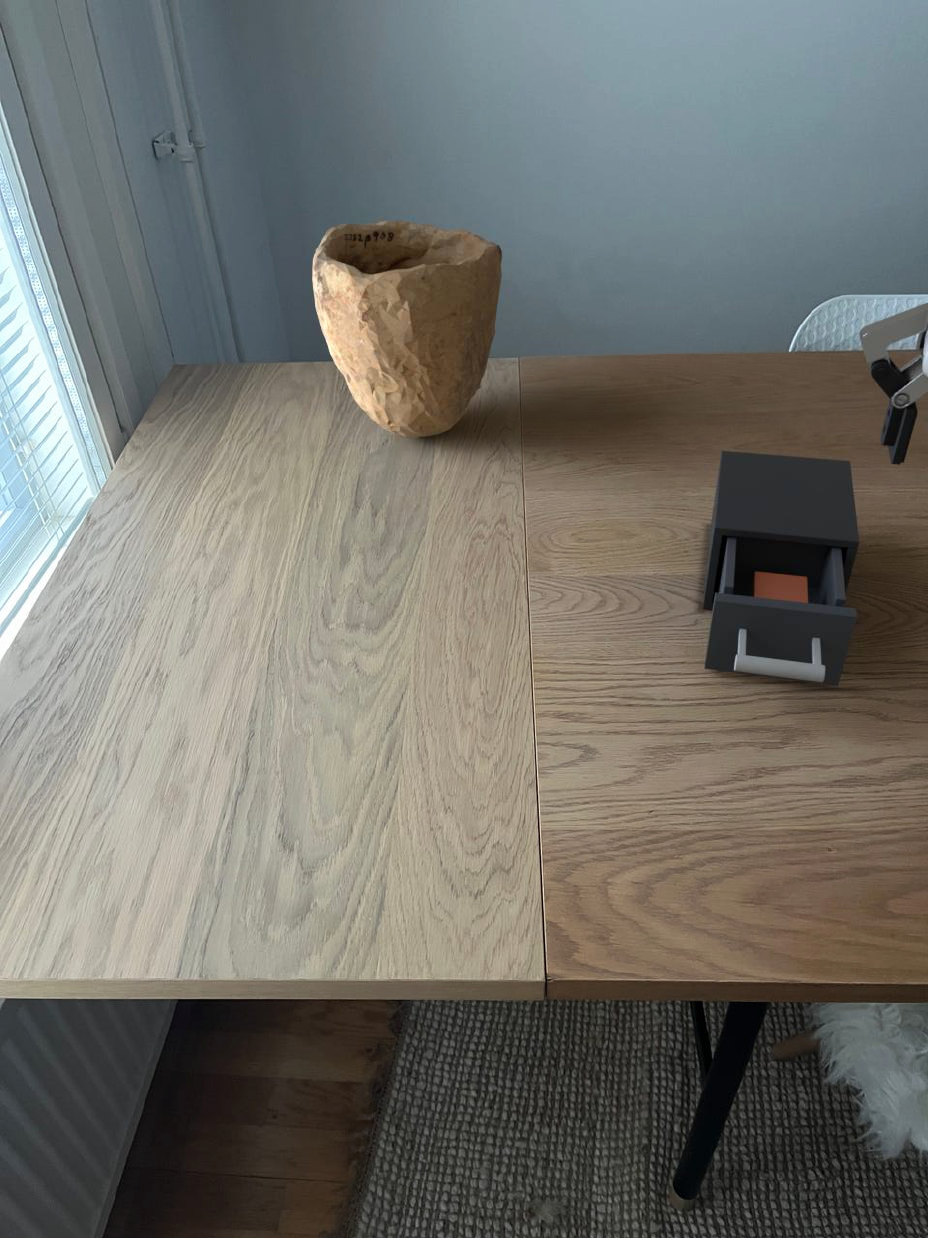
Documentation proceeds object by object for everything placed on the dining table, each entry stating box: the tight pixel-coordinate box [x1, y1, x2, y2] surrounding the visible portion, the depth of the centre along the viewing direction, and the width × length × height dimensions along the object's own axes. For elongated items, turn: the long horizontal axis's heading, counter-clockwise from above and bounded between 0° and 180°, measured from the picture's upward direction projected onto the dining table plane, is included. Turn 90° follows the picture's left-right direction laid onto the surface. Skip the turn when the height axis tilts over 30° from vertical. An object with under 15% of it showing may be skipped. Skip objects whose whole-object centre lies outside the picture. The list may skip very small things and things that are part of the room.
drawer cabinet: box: [702, 450, 860, 611], centre depth 94 cm, size 15×13×10 cm
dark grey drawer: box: [703, 536, 858, 687], centre depth 85 cm, size 18×11×8 cm, turn 166°
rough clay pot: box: [311, 219, 503, 440], centre depth 116 cm, size 22×22×25 cm
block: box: [750, 572, 808, 603], centre depth 86 cm, size 5×5×5 cm
